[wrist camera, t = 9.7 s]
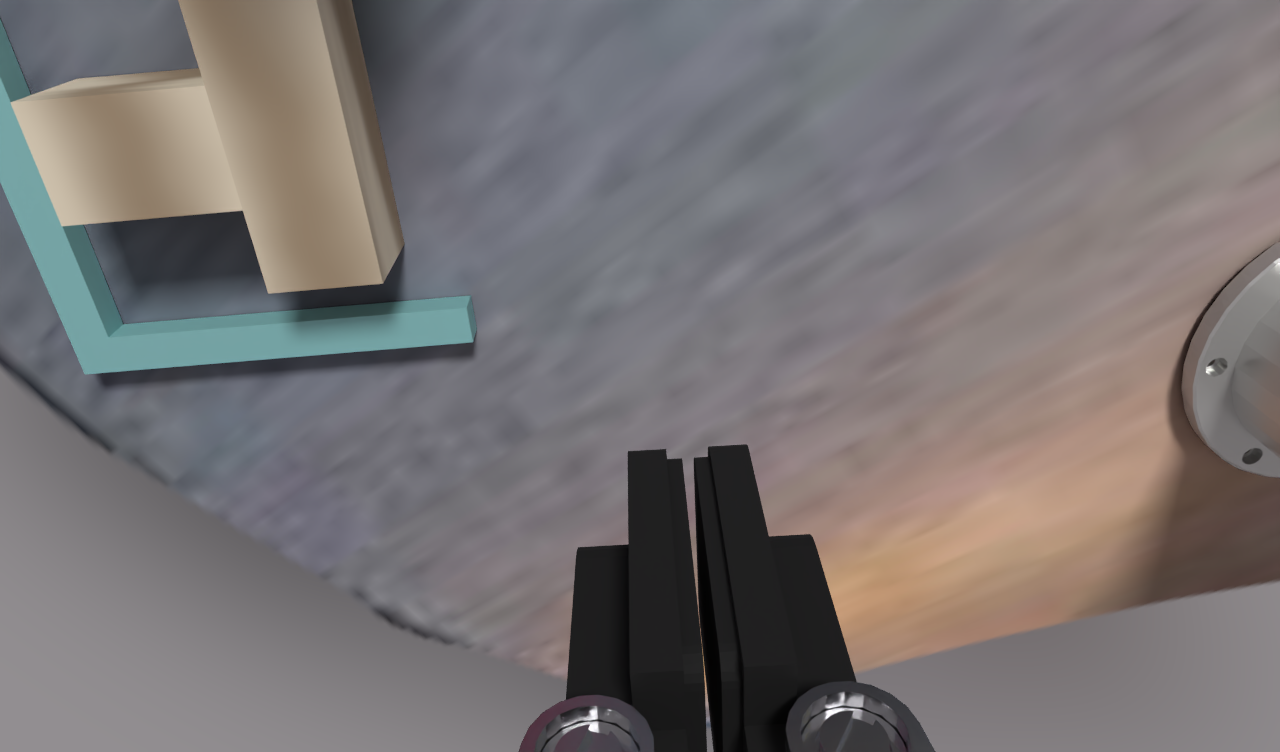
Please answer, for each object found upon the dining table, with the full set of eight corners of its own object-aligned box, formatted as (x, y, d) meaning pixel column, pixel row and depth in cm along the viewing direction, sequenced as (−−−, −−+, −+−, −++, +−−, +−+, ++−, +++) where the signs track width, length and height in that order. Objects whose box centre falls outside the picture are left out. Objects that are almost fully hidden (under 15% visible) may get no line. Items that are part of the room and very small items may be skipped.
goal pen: (380, -195, 27) (371, -199, 26) (476, 329, 36) (472, 342, 34) (-118, -152, 27) (-148, -154, 26) (100, 360, 36) (85, 374, 35)
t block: (342, -41, 29) (308, -33, 25) (404, 243, 34) (382, 283, 30) (42, -15, 29) (-34, -3, 25) (147, 265, 34) (96, 308, 30)
